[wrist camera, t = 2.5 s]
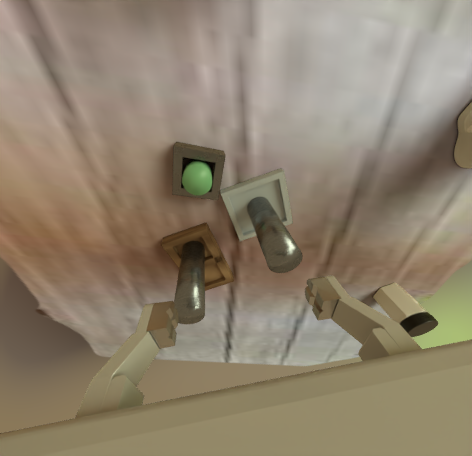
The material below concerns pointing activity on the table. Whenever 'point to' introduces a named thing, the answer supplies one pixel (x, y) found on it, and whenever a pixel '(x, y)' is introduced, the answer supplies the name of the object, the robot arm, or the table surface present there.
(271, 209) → the cylinder
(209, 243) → the tray
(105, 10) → the table surface
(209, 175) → the button
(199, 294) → the cylinder
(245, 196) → the square tray
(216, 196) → the switch box
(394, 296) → the jar
